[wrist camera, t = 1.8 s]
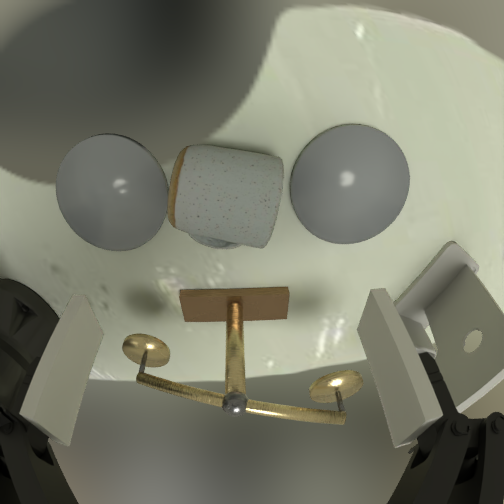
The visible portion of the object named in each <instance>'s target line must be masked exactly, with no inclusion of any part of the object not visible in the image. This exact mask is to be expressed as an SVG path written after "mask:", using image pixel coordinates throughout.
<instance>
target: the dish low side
mask: <svg viewBox="0 0 504 504" xmlns="http://www.w3.org/2000/svg"><path fill="white" fill-rule="evenodd" d="M168 194H169V191H168V185H167V180H166V177H165V174H164V172H163V170H162V168H161V166H160V164H159V163H158V161H157V160H156V158H155V157H154V156H153V155H152V154H151V153H150V151H149V150H147V149H146V148H145V147H144V146H143V145H141V144H140V143H138V142H137V141H135V140H133V139H131V138H129V137H126V136H123V135H118V134H99V135H95V136H91V137H89V138H87V139H85V140H83V141H81V142H80V143H78V144H77V145H75V146H74V147H73V148H72V149H71V150H70V151H69V152H68V153H67V155H66V156H65V157H64V159H63V161H62V163H61V165H60V167H59V170H58V174H57V180H56V195H57V200H58V204H59V207H60V210H61V212H62V214H63V217H64V218H65V220H66V222H67V223H68V224H69V226H70V227H71V228H72V229H73V230H74V232H75V233H76V234H77V235H79V236H80V237H81V238H82V239H84V240H85V241H87V242H88V243H90V244H92V245H94V246H96V247H99V248H102V249H106V250H111V251H126V250H131V249H134V248H137V247H140V246H141V245H143V244H145V243H146V242H148V241H149V240H150V239H151V238H152V237H153V236H154V235H155V234H156V233H157V232H158V230H159V229H160V227H161V225H162V223H163V221H164V219H165V216H166V213H167V209H168Z"/></svg>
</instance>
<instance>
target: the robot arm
mask: <svg viewBox="0 0 504 504" xmlns="http://www.w3.org/2000/svg"><path fill="white" fill-rule="evenodd" d="M357 331H358V334H359V337H360V339H361V342H362V345H363V348H364V351H365V354H366V357H367V360H368V362H369V365H370V368H371V371H372V374H373V377H374V380H375V384H376V387H377V390H378V393H379V396H380V400H381V403H382V406H383V409H384V412H385V416H386V420H387V423H388V427H389V430H390V434H391V437H392V441H393V445H394V448H396V447H400V446H403V445H406V444H409V443H411V442H412V441H414V440H415V439H416V438H417V440H418V444H416V445H415V446H414V447H413V448H411V449H410V451H409V452H408V453H409V454H410V453H412V452H413V451H414V452H413V454H412V457H411V459H410V461H409V463H408V465H407V467H406V469H405V471H404V473H403V476H402V477H401V480H400V481H399V483H398V485H397V487H396V489H395V491H394V493H393V495H392V496H391V498H390V500H389V501H388V503H387V504H503V499H504V415H503V414H502V413H499V412H494V413H492V414H491V415H489V416H488V417H487V418H483V419H468V417H467V416H465V415H463V414H460V413H459V412H458V411H457V409H456V407H455V404H454V402H453V399H452V397H451V395H450V392H449V390H448V388H447V385H446V383H445V381H444V380H443V379H444V378H443V376H442V374H441V372H440V370H439V367H438V365H437V363H436V361H435V360H434V358H433V357H432V356H431V355H430V354H429V353H428V352H423V353H419V354H418V353H417V351H416V349H415V346H414V344H413V342H412V340H411V338H410V336H409V334H408V332H407V330H406V328H405V326H404V324H403V321H402V319H401V318H400V316H399V314H398V312H397V310H396V308H395V306H394V304H393V302H392V300H391V298H390V296H389V294H388V292H387V291H386V289H385V288H381V289H371V290H370V293H369V296H368V299H367V302H366V305H365V308H364V311H363V314H362V317H361V320H360V323H359V325H358V328H357ZM103 335H104V333H103V331H102V329H101V327H100V325H99V323H98V321H97V319H96V317H95V314H94V312H93V310H92V308H91V306H90V304H89V302H88V300H87V297H86V295H73V296H72V297H71V299H70V301H69V303H68V305H67V306H66V308H65V310H64V312H63V314H62V316H61V318H60V320H59V318H58V317H57V315H56V314H55V313H54V311H53V310H52V309H51V308H50V307H49V305H48V304H47V303H46V302H45V301H44V300H43V299H42V298H40V297H39V296H38V295H37V294H36V293H34V292H33V291H32V290H30V289H29V288H27V287H26V286H24V285H22V284H20V283H18V282H15V281H12V280H8V279H1V280H0V504H78V502H77V500H76V498H75V496H74V494H73V493H72V491H71V489H70V487H69V485H68V483H67V481H66V479H65V477H64V475H63V473H62V471H61V469H60V466H59V464H58V462H57V459H56V458H55V455H54V452H53V450H52V448H51V445H50V444H49V442H48V438H50V439H52V440H53V441H55V442H56V443H59V444H62V445H66V446H70V442H71V437H72V434H73V430H74V426H75V422H76V418H77V415H78V411H79V408H80V404H81V401H82V397H83V394H84V390H85V387H86V384H87V381H88V378H89V375H90V372H91V369H92V366H93V363H94V360H95V357H96V354H97V352H98V349H99V346H100V343H101V341H102V338H103Z"/></svg>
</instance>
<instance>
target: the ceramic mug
mask: <svg viewBox="0 0 504 504" xmlns="http://www.w3.org/2000/svg"><path fill="white" fill-rule="evenodd" d="M283 178H284V169H283V162H282V159H281V158H280V157H276V156H271V155H265V154H260V153H254V152H249V151H243V150H236V149H229V148H222V147H217V146H211V145H191V146H187V147H186V148H184V149H183V150H182V151H181V152H180V153H179V155H178V157H177V160H176V162H175V165H174V168H173V172H172V176H171V181H170V186H169V194H168V219H169V221H170V223H171V224H172V226H173V227H175V228H177V229H179V230H182V231H184V232H187V233H189V235H190V236H191V237H192V238H193V239H194V240H195V241H197V242H199V243H201V244H203V245H205V246H208V247H212V248H217V249H232V248H236V247H238V246H240V245H246V246H251V247H256V248H264V247H265V246H266V245H267V243H268V241H269V240H270V237H271V235H272V232H273V229H274V226H275V221H276V218H277V214H278V210H279V206H280V201H281V196H282V189H283Z"/></svg>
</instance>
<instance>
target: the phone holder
mask: <svg viewBox="0 0 504 504" xmlns="http://www.w3.org/2000/svg"><path fill="white" fill-rule="evenodd" d="M478 270H479V265H478V264H477V263H476V262H475V261H474V260H473V259H472V258H471V257H470V256H469V255H468V254H467V253H466V252H465V251H464V250H463V249H462V248H461V247H460V246H459V245H458V244H457V243H456V242H453V241H449V242H448V243H446V244H445V245H444V246H443V247H442V249H441V250H440V251H439V252H438V254H437V255H436V256H435V257H434V258H433V260H432V261H431V262H430V263H429V264H428V266H427V267H426V268H425V269H424V270H423V271H422V272H421V274H420V275H419V276H418V277H417V278H416V279H415V280H414V282H413V283H412V284H411V285H410V286H409V287H408V288H407V289H406V290H405V291H404V292H403V294H402V295H401V296H400V297H399V298H398V299H397V300H396V301H395V302H394V303H393V304H394V306H395V308H396V310H397V312H398V314H399V316H400V318H401V319H402V321H403V324H404V326H405V328H406V330H407V332H408V334H409V336H410V338H411V340H412V342H413V344H414V346H415V349H416V351H417V353H418V354H419V353H423V352H428V353H429V354H430V355H431V356H432V357H433V358H435V356H436V351H435V349H434V347H433V345H432V343H431V341H430V339H429V337H428V335H427V333H426V331H425V330H424V329H425V328H426V327H427V326H429V325H430V328H431V331H432V334H433V336H434V339H435V342H436V345H437V348H438V352H437V356H436V358H435V361H436V363H437V365H438V367H439V370H440V372H441V374H442V376H443V378H444V379H443V380H444V381H445V383H446V385H447V388H448V390H449V392H450V395H451V397H452V399H453V402H454V404H455V407H456V409H457V411H458V412H459V413H461V412H462V411H464V410H465V409H466V408H468V407H469V406H471V405H472V404H473V403H475V402H476V401H477V400H479V399H480V398H481V397H482V396H484V395H485V394H486V393H487V392H488V391H490V390H491V389H492V388H493V387H495V386H496V385H497V384H498V383H499V382H500V381H502V380H503V379H504V313H503V312H502V310H501V309H500V307H499V306H498V305H497V303H496V302H495V300H494V299H493V297H492V296H491V294H490V293H489V292H488V290H487V289H486V287H485V286H484V285H483V283H482V282H481V281H480V279H479V278H478V277H477V275H476V274H477V272H478ZM474 330H479V331H481V332H482V334H483V335H482V341H481V344H480V345H479V347H478V348H477V349H476V350H475V351H473V352H471V353H467V352H465V351H464V346H465V339H466V338H467V336H468V335H469V334H470V333H471V332H472V331H474Z"/></svg>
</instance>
